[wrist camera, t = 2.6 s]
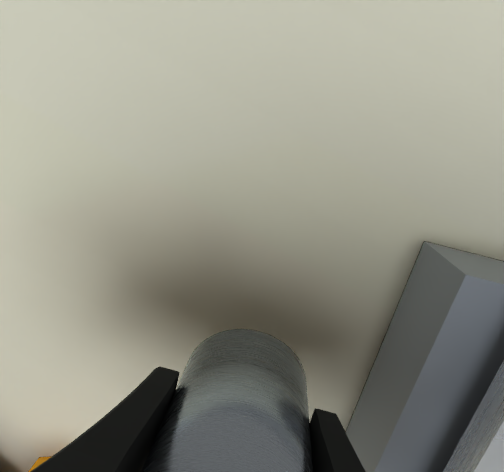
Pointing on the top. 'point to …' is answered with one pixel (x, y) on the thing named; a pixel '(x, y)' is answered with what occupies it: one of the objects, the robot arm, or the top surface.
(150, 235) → the top surface
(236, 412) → the cylinder
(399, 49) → the top surface
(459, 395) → the base
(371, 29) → the top surface
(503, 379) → the pan
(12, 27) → the top surface
